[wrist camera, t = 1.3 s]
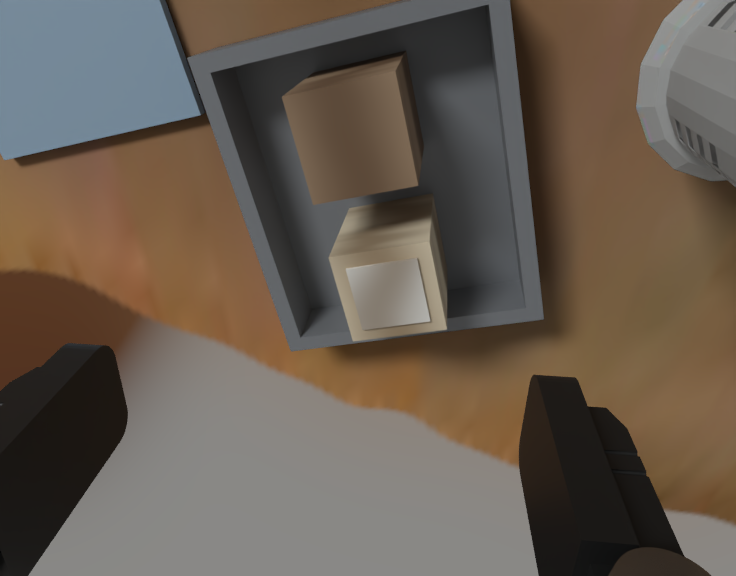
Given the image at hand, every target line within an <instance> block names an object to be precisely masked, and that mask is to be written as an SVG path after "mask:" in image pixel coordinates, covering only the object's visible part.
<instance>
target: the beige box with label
mask: <svg viewBox="0 0 736 576" xmlns="http://www.w3.org/2000/svg"><path fill="white" fill-rule="evenodd" d="M329 261H330V264H331V268H332V271H333V275H334V278H335V282H336V285H337V288H338V292H339V295H340V299H341V302H342V306H343V309H344V312H345V316H346V319H347V323H348V326H349V330H350V333H351V336H352V340H353V341H361V340H369V339H377V338H385V337H393V336H401V335H409V334H417V333H424V332H432V331H440V330H447V265H446V260H445V254H444V249H443V244H442V238H441V233H440V228H439V223H438V217H437V212H436V207H435V201H434V196H433V193H432V194H426V195H420V196H415V197H409V198H404V199H398V200H393V201H387V202H381V203H376V204H370V205H365V206H359V207H354V208H349V210H348V212H347V215H346V217H345V219H344V222H343V224H342V227H341V229H340V231H339V234H338V236H337V239H336V241H335V243H334V246H333V248H332V251H331V253H330V255H329Z"/></svg>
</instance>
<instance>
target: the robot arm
mask: <svg viewBox="0 0 736 576" xmlns="http://www.w3.org/2000/svg"><path fill="white" fill-rule="evenodd" d="M127 418H128V411H127V405H126V401H125V397H124V392H123V388H122V383H121V379H120V375H119V370H118V366H117V362H116V357H115V354H114V352H113V350H112V349H111V348H110V347H109V346H104V345H90V344H89V345H88V344H75V343H74V344H73V343H68V344H65V345H64V346H63V347H61V348H60V349H59V350H58V351H57V352H56V353H55V354H54V355H53V356H52V357H51V358H50V359H49V360H48V361H47V362H46V363H45V364H44V365H43V366H42V367H36V368H35V369H33V370H31V371H29V372H28V373H26V374H24V375H22V376H20V377H19V378H17V379H15V380H13V381H12V382H10V383H9V384H8V385H7V386H5V387H4V388H3V389H2V390H1V391H0V576H28V575H29V573H30V572H31V571H32V569H33V567H34V566H35V565H36V563H37V562H38V560H39V559H40V557H41V556H42V555H43V553H44V552H45V550H46V549H47V547H48V546H49V544H50V543H51V541H52V540H53V539H54V537H55V536H56V534H57V533H58V531H59V530H60V528H61V527H62V525H63V524H64V523H65V521H66V519H67V518H68V517H69V515H70V514H71V512H72V511H73V509H74V508H75V507H76V505H77V504H78V502H79V501H80V499H81V498H82V496H83V495H84V493H85V492H86V491H87V489H88V487H89V486H90V484H91V483H92V482H93V480H94V479H95V477H96V476H97V474H98V473H99V472H100V470H101V469H102V467H103V466H104V464H105V463H106V461H107V460H108V459H109V457H110V456H111V454H112V453H113V451H114V450H115V448H116V447H117V445H118V444H119V443H120V441H121V439H122V437H123V435H124V432H125V429H126V425H127ZM519 468H520V476H521V481H522V487H523V492H524V498H525V503H526V508H527V514H528V519H529V524H530V530H531V535H532V541H533V547H534V552H535V558H536V563H537V568H538V574H539V576H711V575H710V574H709V573H708V572H707V571H705V570H704V569H703V568H702V567H700V566H699V565H697V564H696V563H694V562H693V561H691V560H689V559H688V558H686V557H685V556H684V555H683V553H682V551H681V548H680V546H679V544H678V542H677V539H676V537H675V535H674V533H673V530H672V528H671V526H670V524H669V521H668V519H667V517H666V515H665V512H664V510H663V508H662V506H661V503H660V501H659V499H658V497H657V494H656V492H655V490H654V488H653V486H652V483H651V481H650V479H649V477H647V476H646V470H645V468H644V465H643V463H642V461H641V459H640V457H638V456H637V450H636V447H635V445H634V443H633V441H632V438H631V436H630V434H629V432H628V429H627V428H626V427H625V426H624V425H623V424H622V423H621V422H620V421H619V420H618V419H617V418H616V417H615V416H614V415H613V414H612V413H611V412H610V411H609V410H608V409H607V408H601V407H588V406H587V404H586V401H585V398H584V396H583V393H582V390H581V388H580V385H579V382H578V380H577V379H576V378H573V377H558V376H543V375H533V376H532V378H531V381H530V385H529V391H528V396H527V402H526V408H525V413H524V419H523V425H522V431H521V436H520V444H519Z"/></svg>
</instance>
